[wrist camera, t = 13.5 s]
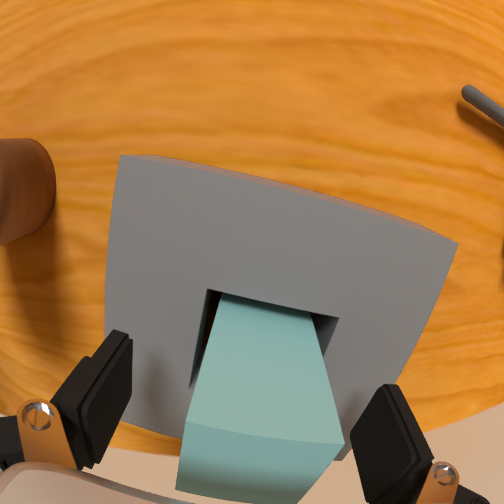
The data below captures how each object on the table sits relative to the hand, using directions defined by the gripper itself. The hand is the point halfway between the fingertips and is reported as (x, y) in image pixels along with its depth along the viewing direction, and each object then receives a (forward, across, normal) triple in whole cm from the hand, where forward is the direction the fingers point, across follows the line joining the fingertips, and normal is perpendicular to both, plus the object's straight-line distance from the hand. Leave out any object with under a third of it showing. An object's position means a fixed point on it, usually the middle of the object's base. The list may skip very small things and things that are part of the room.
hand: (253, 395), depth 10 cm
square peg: (+6, 0, 0) cm, 7 cm away
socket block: (+6, 0, 0) cm, 7 cm away
